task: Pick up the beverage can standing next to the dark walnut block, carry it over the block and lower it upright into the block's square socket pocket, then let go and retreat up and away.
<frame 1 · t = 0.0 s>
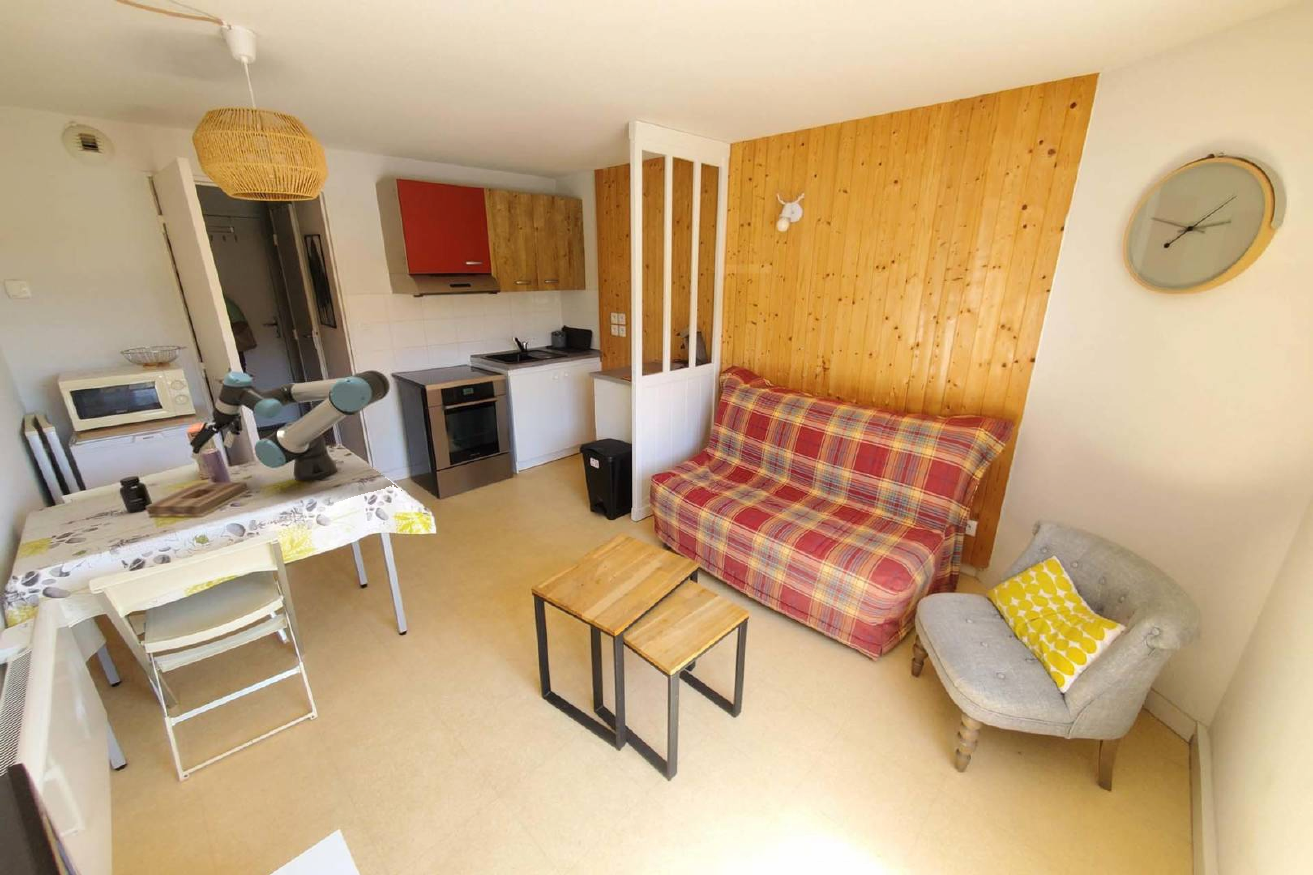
hand: (211, 452, 194), 15 cm above the table, tool tilted 35°, fingers open, 13 cm apart
cracker box: (213, 473, 215), on the table
beverage can: (222, 486, 202), on the table
socket block: (201, 503, 186), on the table
supplement bottle: (141, 509, 184), on the table
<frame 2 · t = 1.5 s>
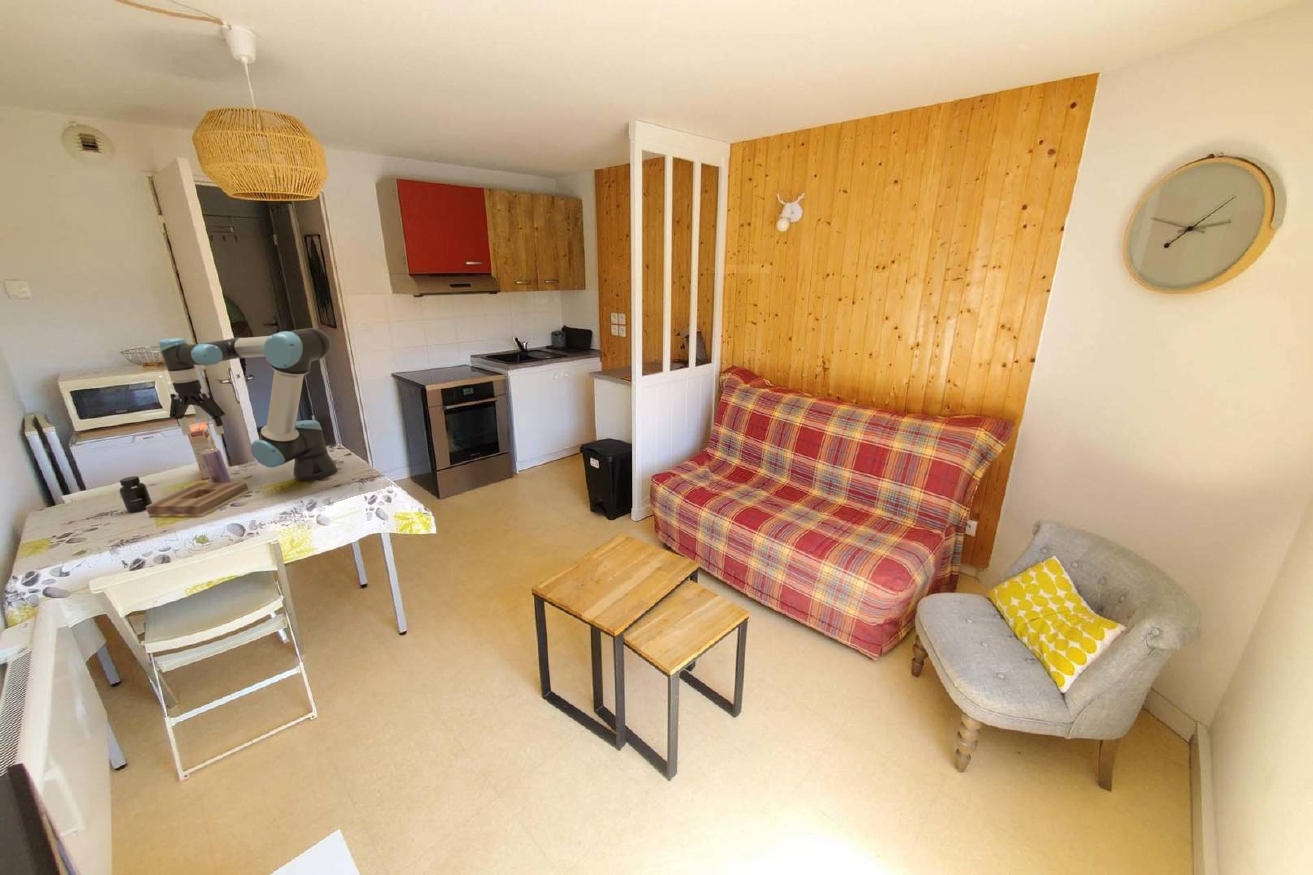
hand: (204, 434, 195), 22 cm above the table, tool pointing down, fingers open, 13 cm apart
nothing on the table moved.
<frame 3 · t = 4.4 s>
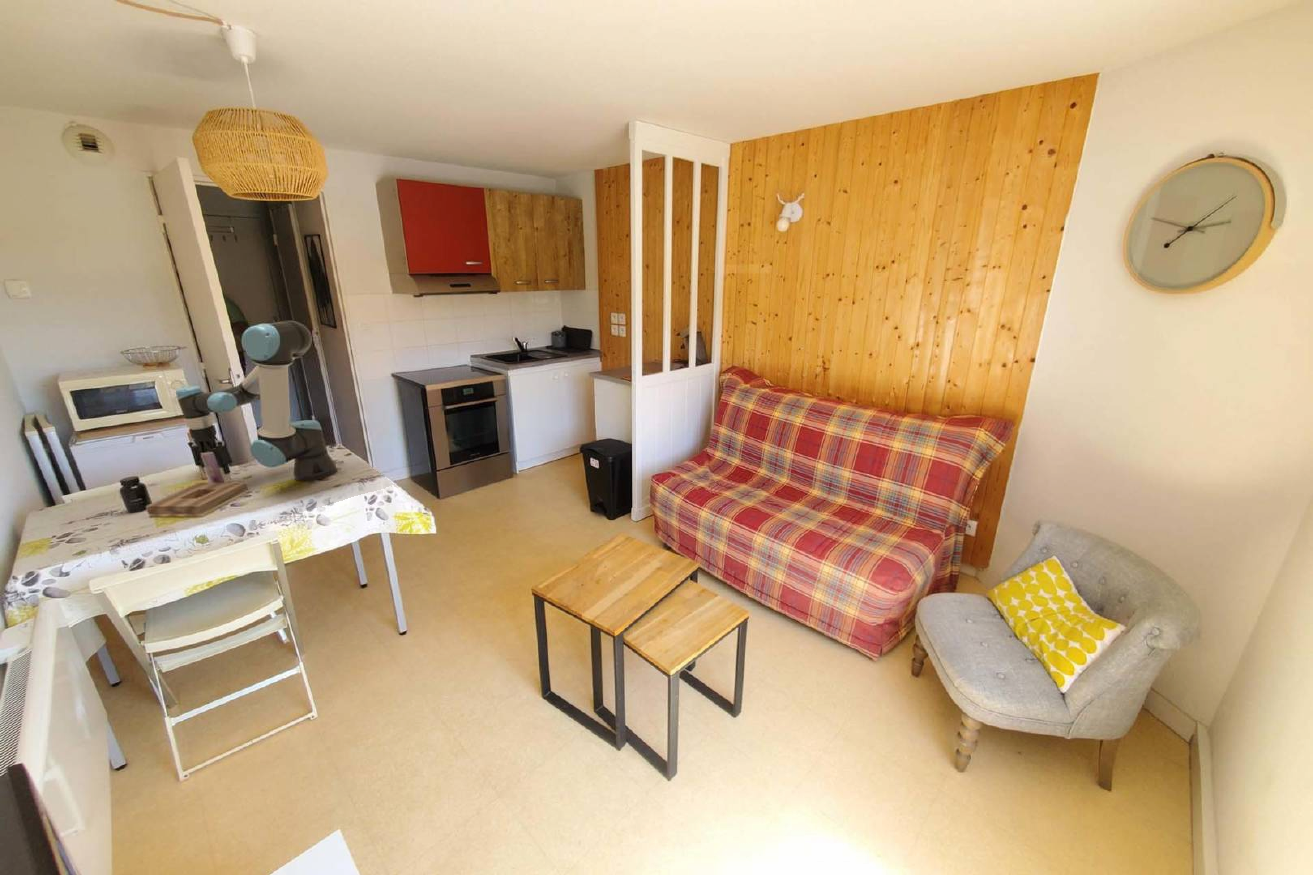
hand: (220, 481, 201), 2 cm above the table, tool pointing down, fingers closed on beverage can, 6 cm apart
beverage can: (222, 485, 202), on the table, touching gripper
everything else where it was.
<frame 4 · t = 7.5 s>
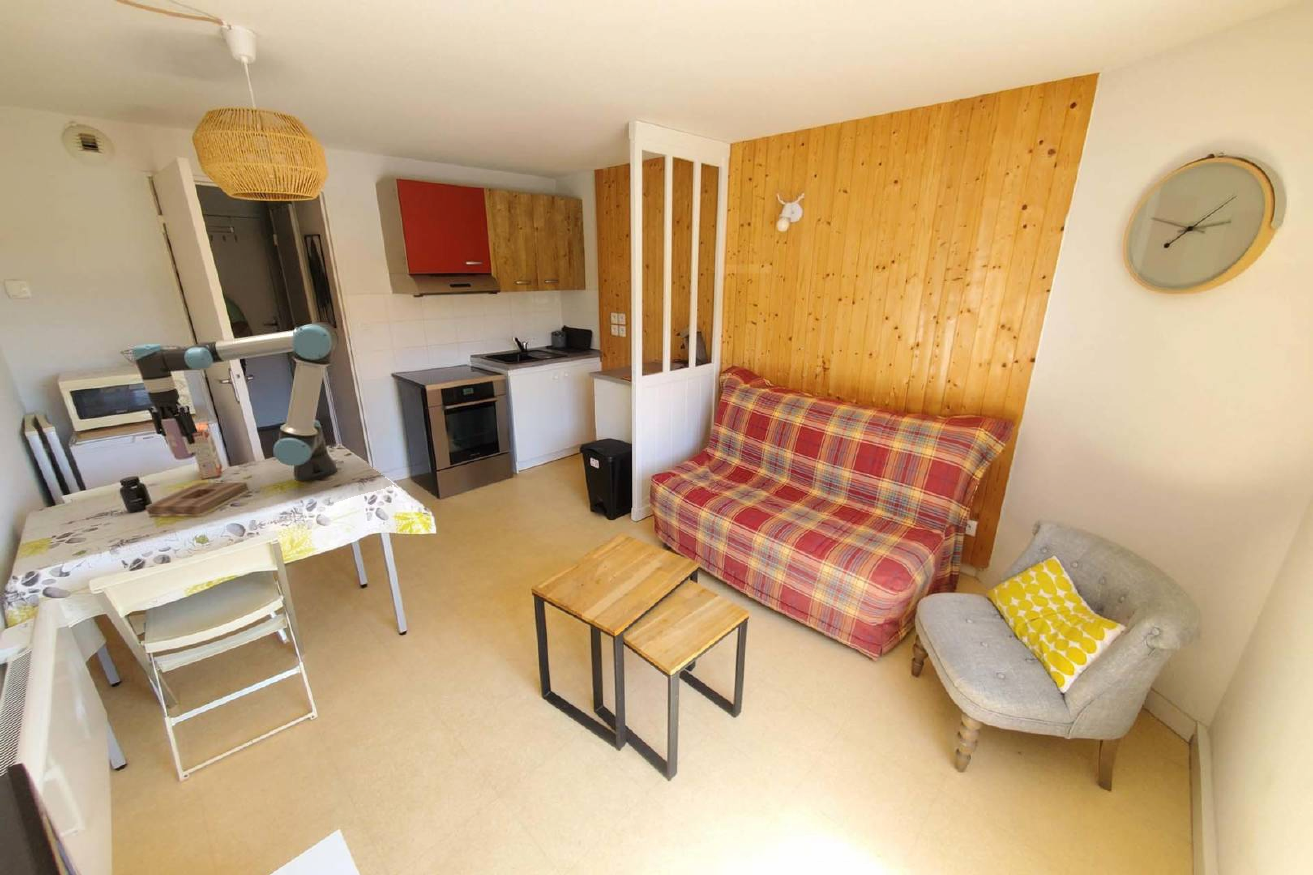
hand: (184, 452, 181), 20 cm above the table, tool pointing down, fingers closed on beverage can, 6 cm apart
beverage can: (186, 457, 182), point 18 cm above the table, touching gripper
everything else where it was.
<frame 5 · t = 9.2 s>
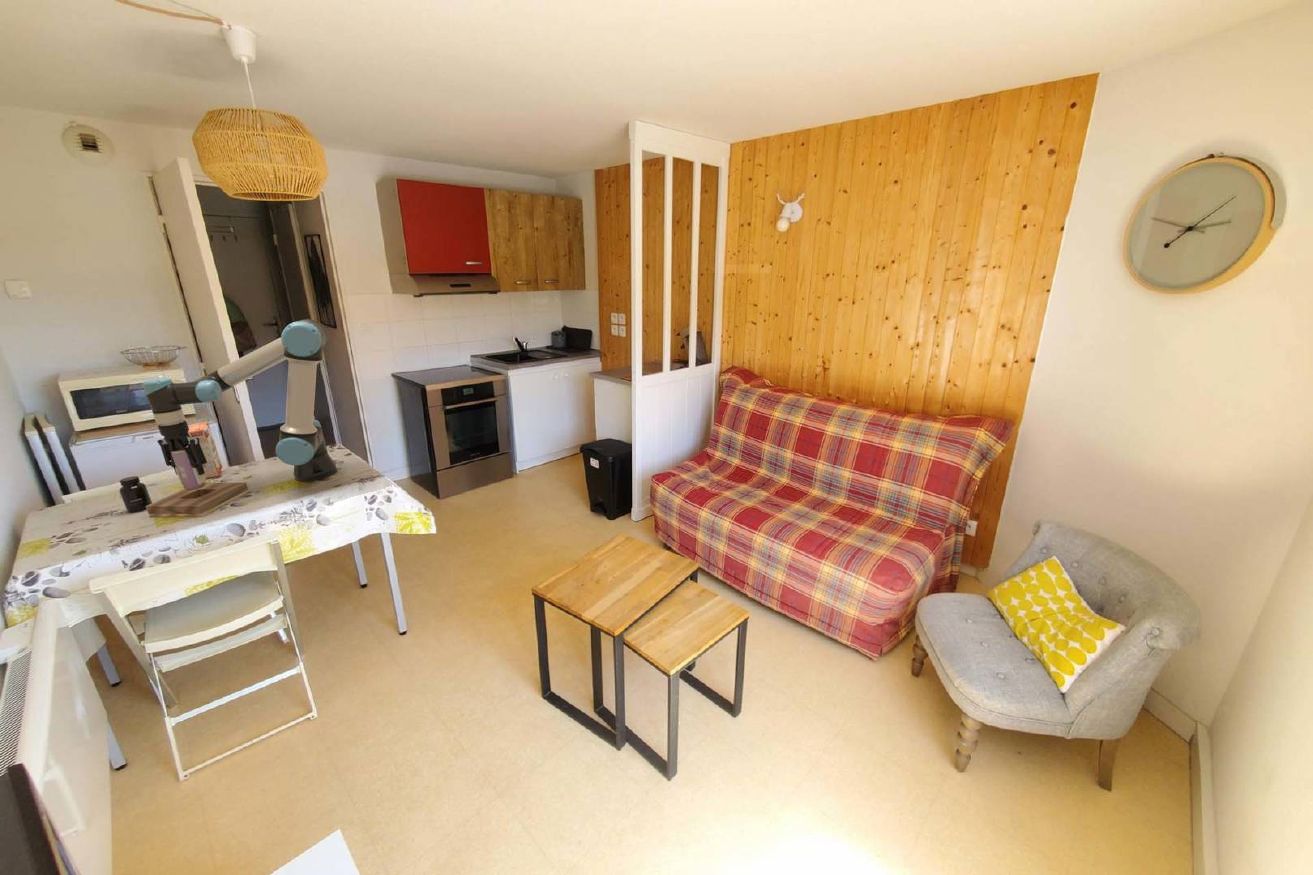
hand: (193, 482, 184), 9 cm above the table, tool pointing down, fingers closed on beverage can, 6 cm apart
beverage can: (195, 487, 184), point 6 cm above the table, touching gripper
everything else where it was.
when the fingers open (5 cm above the table, at t = 10.5 s): beverage can drops 2 cm, resting on socket block.
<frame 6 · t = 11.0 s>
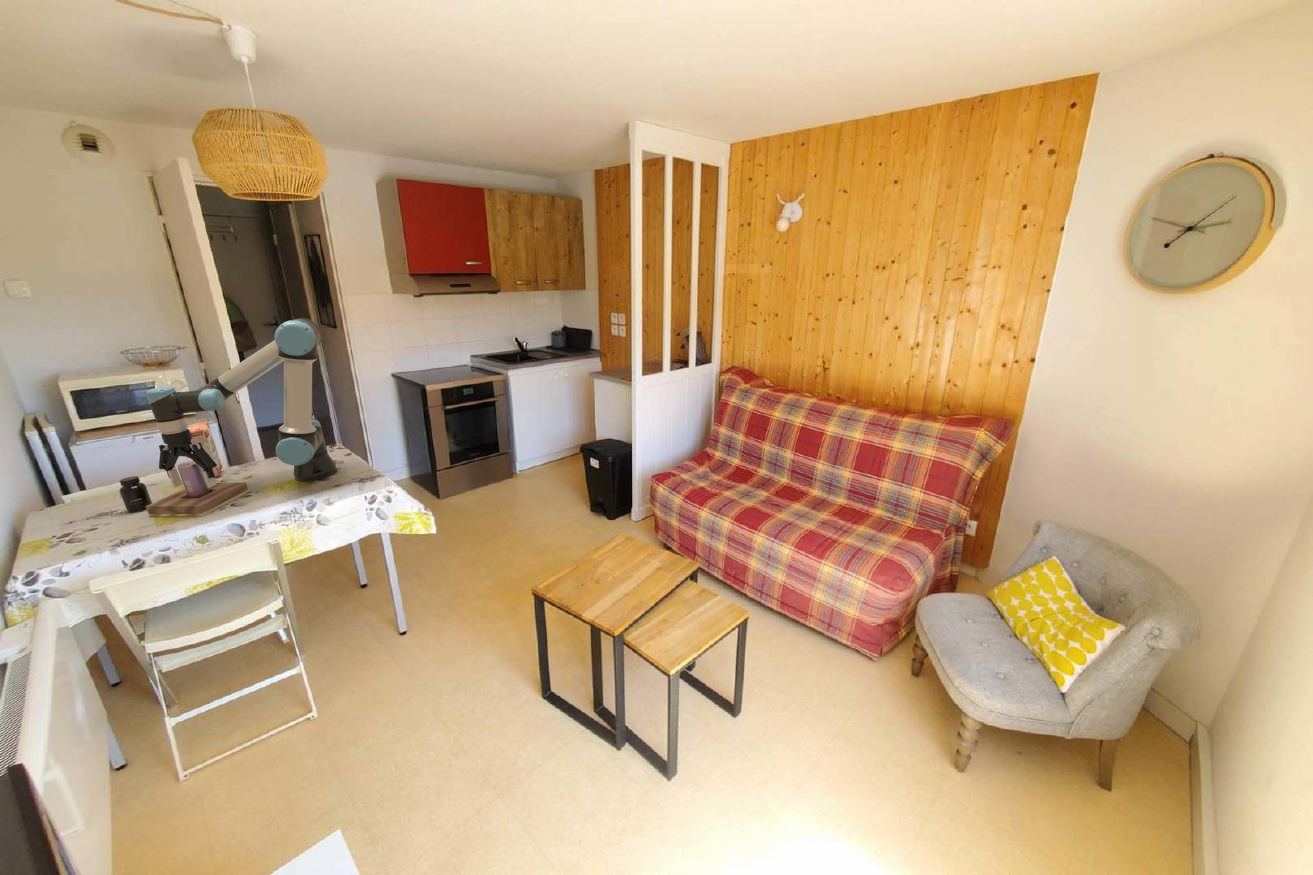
hand: (195, 486, 184), 7 cm above the table, tool pointing down, fingers open, 13 cm apart
beverage can: (201, 501, 186), point 1 cm above the table, touching socket block
everything else where it was.
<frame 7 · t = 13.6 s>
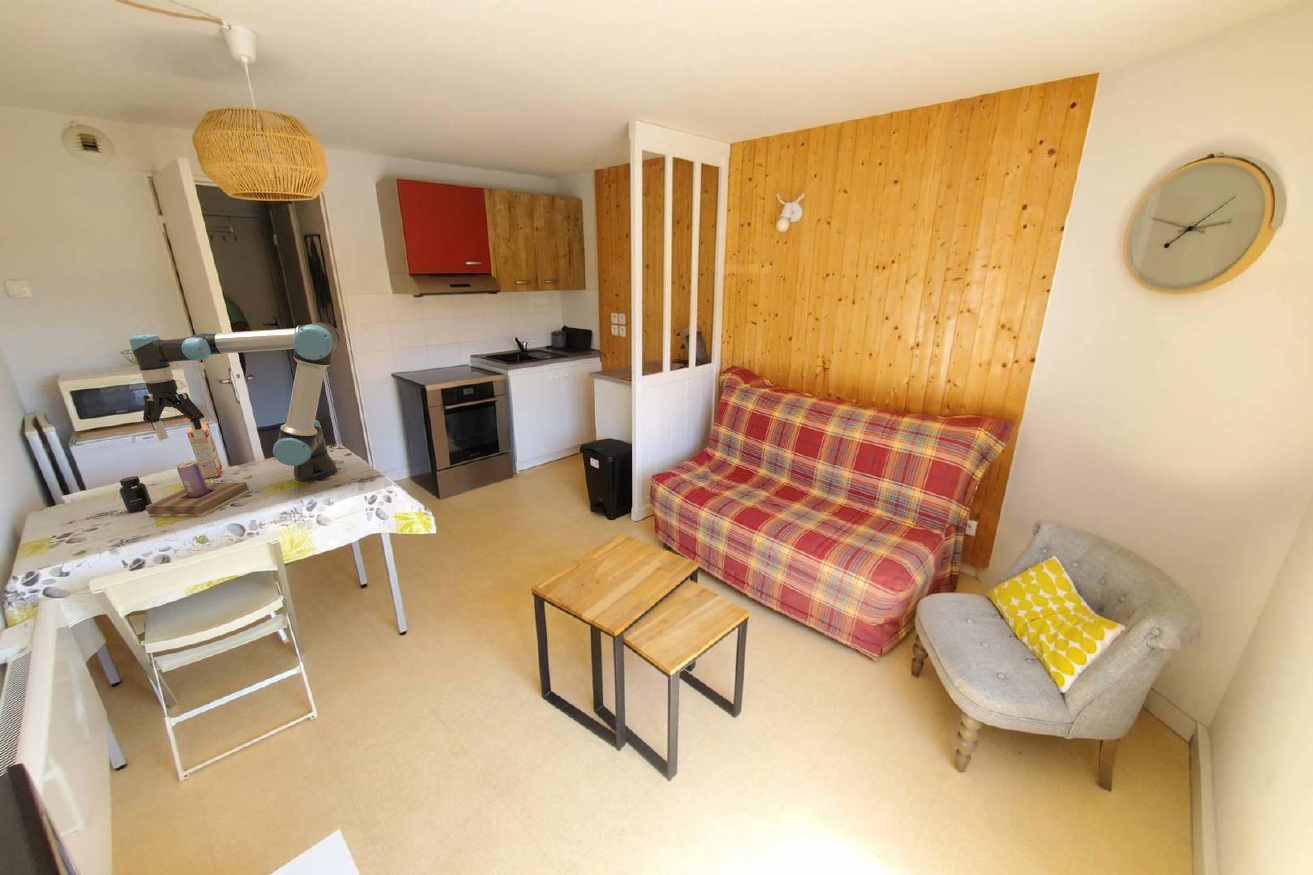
hand: (181, 438, 180), 25 cm above the table, tool pointing down, fingers open, 13 cm apart
nothing on the table moved.
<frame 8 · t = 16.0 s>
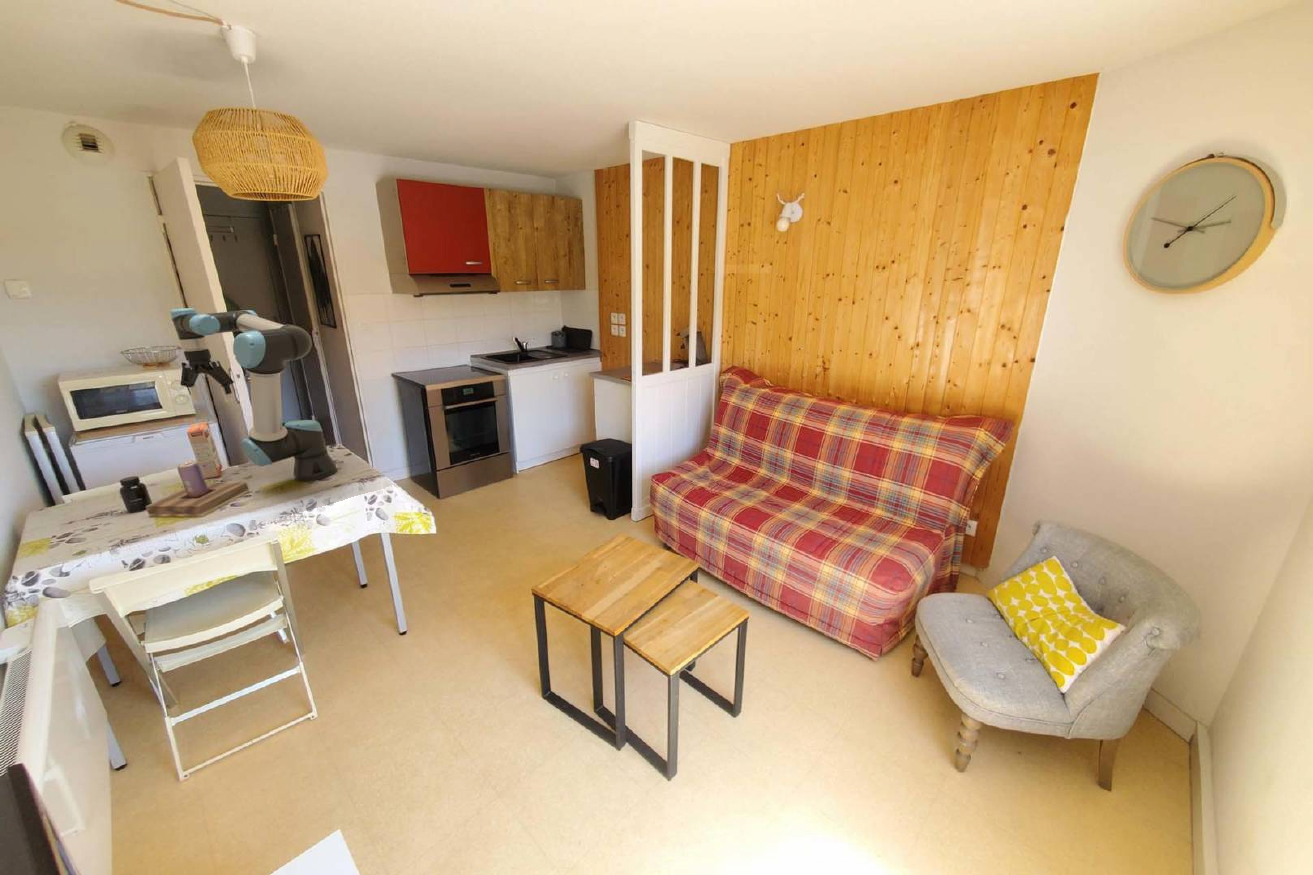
hand: (213, 402, 202), 32 cm above the table, tool pointing down, fingers open, 13 cm apart
nothing on the table moved.
at the end: beverage can 0.1 cm off-centre on the socket block, point 0.8 cm above the socket block's base; beverage can tilted 0°; the gripper is holding nothing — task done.
